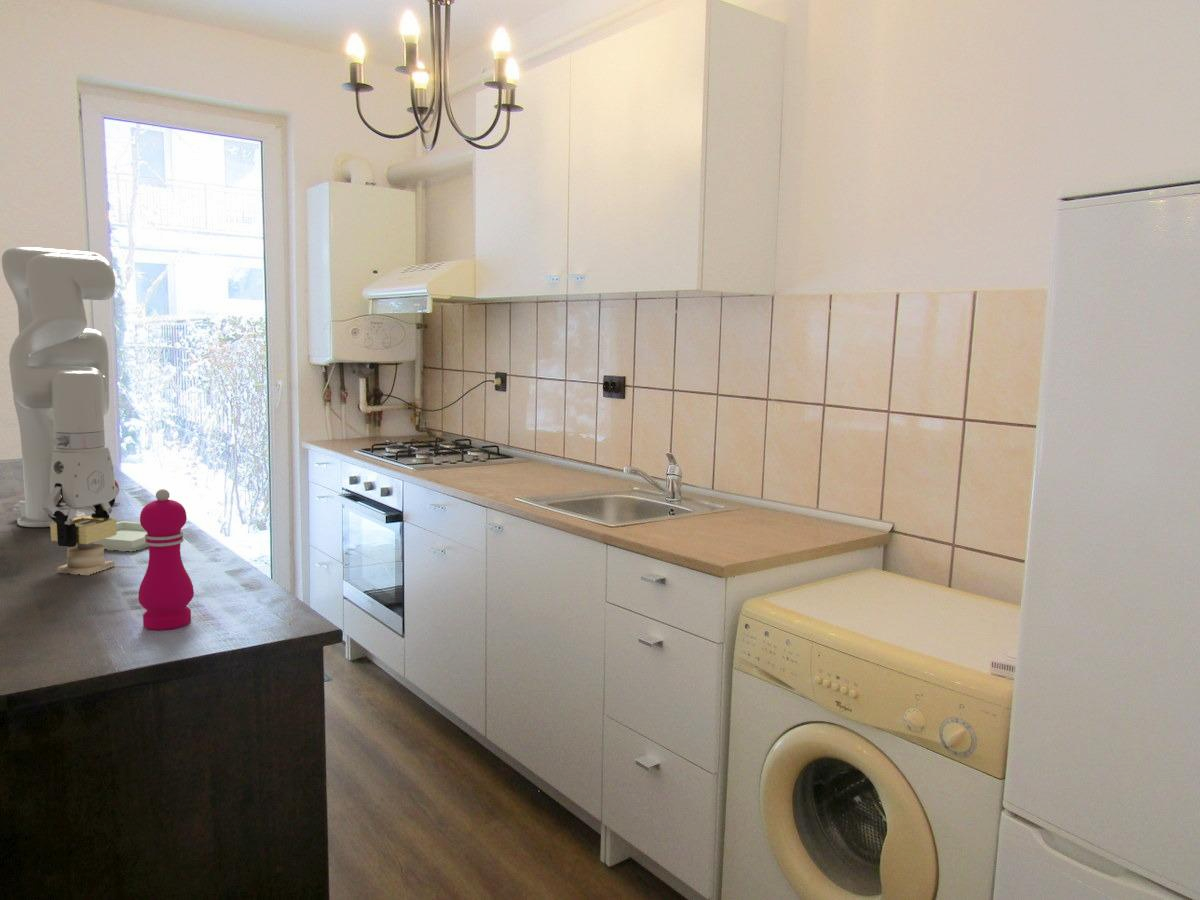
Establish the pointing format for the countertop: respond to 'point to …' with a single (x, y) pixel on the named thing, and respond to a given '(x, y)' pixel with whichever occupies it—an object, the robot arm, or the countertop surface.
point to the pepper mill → (165, 566)
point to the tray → (125, 537)
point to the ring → (89, 529)
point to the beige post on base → (85, 558)
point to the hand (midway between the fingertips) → (84, 539)
